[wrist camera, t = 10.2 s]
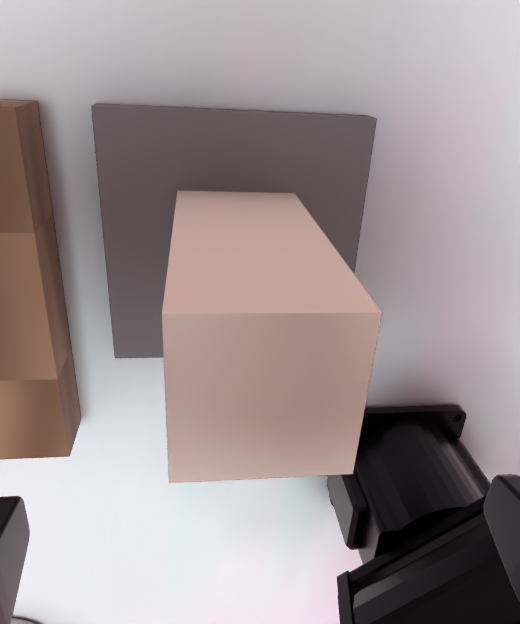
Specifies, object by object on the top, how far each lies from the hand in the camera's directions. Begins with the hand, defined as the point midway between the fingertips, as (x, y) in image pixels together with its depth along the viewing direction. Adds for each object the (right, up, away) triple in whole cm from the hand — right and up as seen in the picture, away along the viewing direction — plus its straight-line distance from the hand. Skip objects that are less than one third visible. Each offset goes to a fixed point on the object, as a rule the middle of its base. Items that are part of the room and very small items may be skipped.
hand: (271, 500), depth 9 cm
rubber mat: (-1, +7, +11) cm, 13 cm away
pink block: (-1, +6, +10) cm, 12 cm away
